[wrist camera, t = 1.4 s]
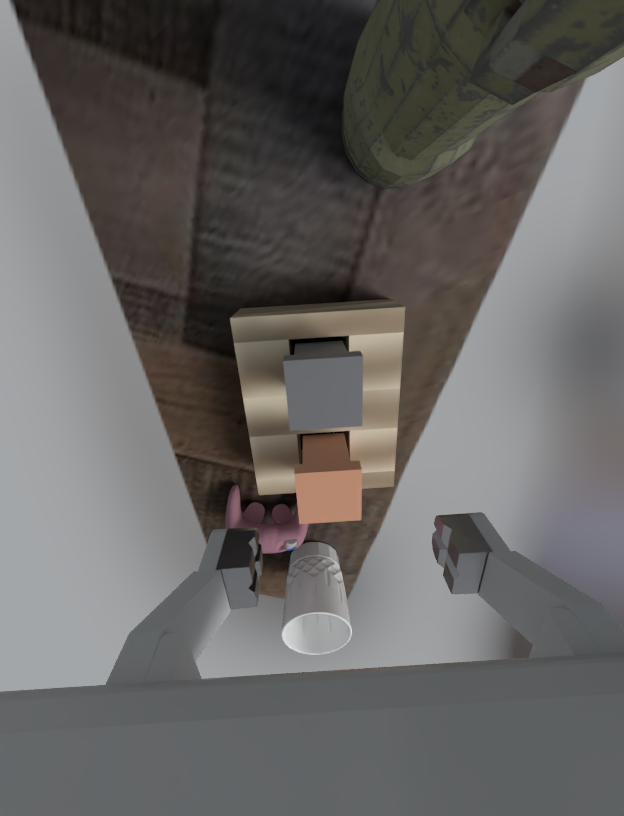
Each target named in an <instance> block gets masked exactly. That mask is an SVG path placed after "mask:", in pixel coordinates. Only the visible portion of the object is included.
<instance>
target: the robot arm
mask: <svg viewBox="0 0 624 816" xmlns="http://www.w3.org/2000/svg"><path fill="white" fill-rule="evenodd" d="M434 525H435V527H436V529H437V530H436V531H435V532H434V533H433V536H432V546H433V551H434V555H435V558H436V560H437V563H438V564H439V565H441V566H442V567H443V568H444V573H443V576H444V578H445V581H446V583H447V585H448V587H449V589H450V592H451V594H470V593H471V594H472V593H479V596H481V598H483V599H484V600H485V601H486V602H487V603H488V604H489V605H490V606H491V607H492V608H494V609H495V610H496V611H497V612H498V613H499V614H500V615H501V616H502V617H503V618H504V619H505V620H507V621H508V622H509V623H510V624H511V625H512V626H513V627H514V628H515V629H516V630H517V631H519V632H520V633H521V634H522V635H523V636H524V637H525V638H526V639H527V640H529V642H531V643H532V644H533V648H532V650H531V653H530V656H529V658H519V659H503V660H488V661H472V662H457V663H443V664H442V663H441V664H427V665H410V666H397V667H396V666H395V667H379V668H364V669H350V670H335V671H334V670H333V671H319V672H302V673H287V674H271V675H256V676H241V677H226V678H225V677H224V678H209V679H201V676H200V673H199V671H198V668H197V665H196V663H195V661H196V660H197V658H198V657H199V655H200V654H201V653H202V651H203V650H204V649H205V647H206V646H207V644H208V643H209V641H210V640H211V638H212V637H213V636H214V634H215V633H216V631H217V630H218V628H219V627H220V626H221V624H222V623H223V622H224V620H225V619H226V617H227V616H228V614H229V613H230V612H231V609H237V608H248V607H257V605H258V598H259V590H260V584H259V579H258V578H259V577H260V576H261V575H262V565H263V554H262V546H261V544H260V543H259V537H260V535H259V530H258V528H257V527H255V528H229V529H214V530H213V531H212V532H211V534H210V537H209V540H208V543H207V546H206V549H205V552H204V555H203V558H202V561H201V564H200V567H199V570H198V571H197V572H193V573H192V574H191V575H190V576H189V577H188V578H187V579H186V580H184V581H183V582H182V583H181V584H180V585H179V586H178V587H177V588H176V589H175V590H174V591H173V592H172V593H171V594H170V595H169V596H168V597H167V598H166V599H165V600H164V601H163V602H162V603H161V604H160V605H158V606H157V607H156V608H155V609H154V610H153V611H152V612H151V613H150V614H149V615H148V616H147V617H146V618H145V619H144V620H143V621H142V622H141V623H140V624H139V625H138V626H137V627H136V628H134V630H132V631H131V632H130V633H129V635H128V637H127V640H126V642H125V644H124V646H123V648H122V650H121V652H120V655H119V657H118V659H117V661H116V663H115V665H114V668H113V670H112V672H111V674H110V676H109V679H108V681H107V683H106V685H98V686H83V687H67V688H52V689H35V690H20V691H4V692H0V816H624V629H623V628H622V627H621V626H620V625H619V623H618V622H617V621H616V620H615V619H614V618H613V616H612V615H611V614H610V613H609V612H608V611H607V609H606V608H605V607H604V606H603V605H602V604H601V603H599V602H598V601H596V600H595V599H593V598H591V597H590V596H588V595H586V594H585V593H583V592H581V591H579V590H578V589H577V588H575V587H573V586H572V585H570V584H568V583H567V582H565V581H564V580H562V579H560V578H558V577H557V576H555V575H554V574H552V573H550V572H549V571H547V570H545V569H544V568H542V567H541V566H539V565H537V564H535V563H534V562H532V561H531V560H529V559H528V558H526V557H524V556H523V555H521V554H519V553H518V552H516V551H510V549H509V548H508V547H507V545H506V544H505V542H504V541H503V540H502V538H501V537H500V535H499V534H498V533H497V531H496V530H495V528H494V527H493V526H492V524H491V523H490V521H489V520H488V519H487V517H486V516H485V514H483V513H480V512H479V513H466V514H452V515H439V516H436V518H435V522H434Z"/></svg>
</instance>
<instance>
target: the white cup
mask: <svg viewBox="0 0 624 816" xmlns="http://www.w3.org/2000/svg"><path fill="white" fill-rule="evenodd" d="M281 635H282V639H283V642H284V643H285V644H286V645H287V646H288V647H289V648H291V649H292V650H294V651H297V652H300V653H303V654H310V655H319V654H327V653H331V652H334V651H336V650H338V649H340V648H342V647H343V646H345V645H346V644H347V643H348V641H349V640H350V638H351V635H352V628H351V622H350V616H349V611H348V605H347V599H346V593H345V588H344V583H343V578H342V573H341V570H340V565H339V559H338V556H337V553H336V551H335V550H334V549H333V548H332V547H331V546H329V545H328V544H324V543H321V542H307V543H305V544H302V545H301V546H299V547H298V548H296V549H295V550H294V551H293V552H292V553H291V556H290V561H289V572H288V575H287V583H286V591H285V603H284V612H283V623H282V633H281Z"/></svg>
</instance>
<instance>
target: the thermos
mask: <svg viewBox="0 0 624 816" xmlns="http://www.w3.org/2000/svg"><path fill="white" fill-rule="evenodd" d="M623 57H624V0H378V1H377V2H376V5H375V7H374V9H373V11H372V13H371V15H370V17H369V19H368V21H367V24H366V26H365V28H364V30H363V32H362V34H361V36H360V38H359V40H358V43H357V47H356V50H355V54H354V58H353V62H352V65H351V69H350V73H349V77H348V81H347V84H346V88H345V92H344V104H343V108H342V126H341V134H342V139H343V143H344V147H345V151H346V155H347V157H348V158H349V160H350V162H351V164H352V165H353V167H354V169H355V171H356V172H357V173H358V174H359V175H360V176H362V177H363V178H364V179H365V180H366V181H367V182H368V183H370V184H373V185H375V186H378V187H380V188H383V189H401V188H403V187H406V186H409V185H411V184H414V183H416V182H419V181H421V180H424V179H426V178H429V177H430V176H432V175H434V174H435V173H437V172H439V171H440V170H442V169H444V168H445V167H447V166H449V165H450V164H452V163H453V162H454V161H455V160H457V159H458V158H459V157H460V156H462V155H463V154H464V153H465V152H466V151H468V150H469V149H470V148H471V146H472V144H473V142H474V140H475V138H476V136H477V135H478V134H479V133H481V132H482V131H484V130H485V129H487V128H488V127H490V126H491V125H493V124H494V123H496V122H497V121H499V120H500V119H502V118H503V117H505V116H506V115H507V114H509V113H510V112H512V111H513V110H515V109H516V108H518V107H519V106H521V105H522V104H524V103H525V102H527V101H528V100H530V99H531V98H533V97H534V96H535V95H537V94H538V93H540V92H552V91H554V90H557V89H559V88H562V87H564V86H567V85H569V84H572V83H574V82H577V81H579V80H582V79H584V78H587V77H589V76H592V75H594V74H596V73H598V72H600V71H601V70H603V69H605V68H606V67H608V66H610V65H611V64H613V63H614V62H616V61H617V60H619V59H621V58H623Z"/></svg>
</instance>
